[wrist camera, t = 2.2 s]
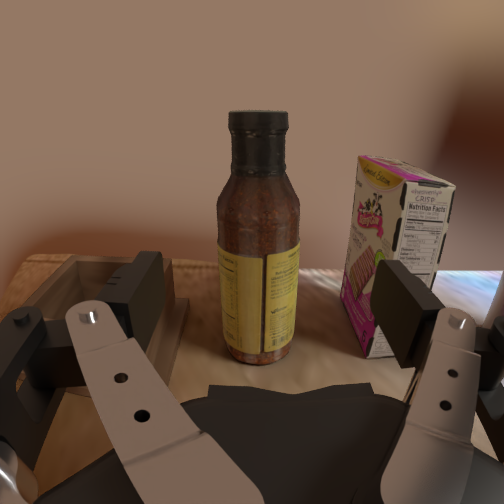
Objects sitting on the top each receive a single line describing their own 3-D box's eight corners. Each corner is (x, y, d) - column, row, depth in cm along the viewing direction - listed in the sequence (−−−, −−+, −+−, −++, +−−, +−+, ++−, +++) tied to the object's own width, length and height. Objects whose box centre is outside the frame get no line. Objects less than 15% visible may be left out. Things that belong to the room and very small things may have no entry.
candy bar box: (336, 297, 37) (355, 153, 30) (375, 296, 37) (399, 159, 30) (362, 362, 26) (404, 175, 20) (410, 358, 26) (459, 183, 20)
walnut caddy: (189, 306, 34) (185, 255, 31) (162, 408, 21) (148, 350, 19) (76, 298, 34) (65, 251, 31) (18, 378, 21) (-8, 324, 18)
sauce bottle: (286, 324, 32) (303, 113, 24) (296, 368, 26) (324, 113, 18) (220, 325, 31) (219, 110, 23) (218, 369, 26) (214, 108, 17)
